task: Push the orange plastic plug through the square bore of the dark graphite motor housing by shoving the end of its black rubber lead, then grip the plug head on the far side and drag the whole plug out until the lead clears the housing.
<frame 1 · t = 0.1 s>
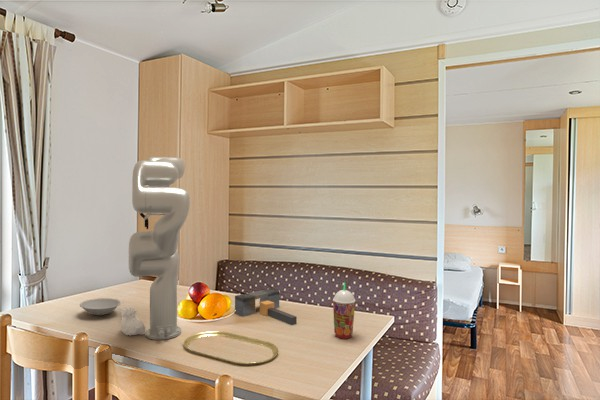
hand: (159, 228, 172), 37 cm above the table, tool pointing down, fingers open, 9 cm apart
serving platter: (230, 350, 139), on the table
duck figurine: (131, 334, 151), on the table
housing: (257, 309, 182), on the table
plug: (266, 313, 177), on the table
dish: (100, 315, 172), on the table
smoothie: (343, 336, 152), on the table
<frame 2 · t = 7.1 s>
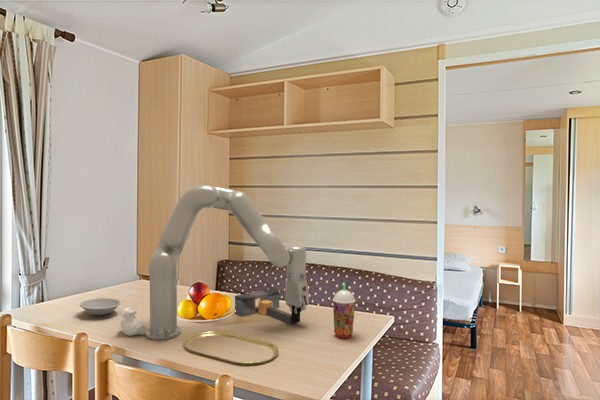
hand: (295, 322, 163), 1 cm above the table, tool pointing down, fingers closed
plug: (265, 313, 178), on the table, touching gripper
everything else where it was.
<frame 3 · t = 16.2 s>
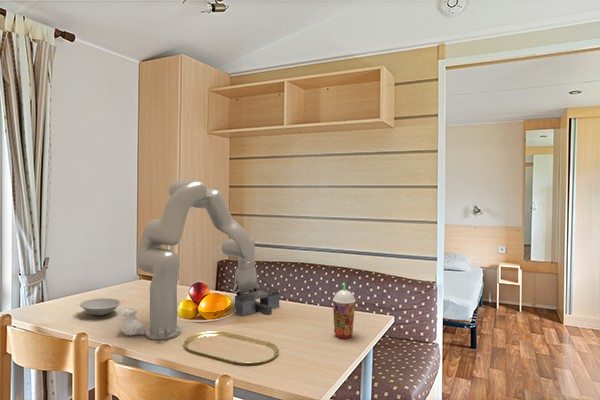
hand: (246, 303, 189), 1 cm above the table, tool pointing down, fingers closed on plug, 4 cm apart
plug: (245, 305, 189), on the table, touching gripper
everything else where it was.
when the fingers open (1 cm above the table, at t = 20.0 s): plug stays where it is, on the table.
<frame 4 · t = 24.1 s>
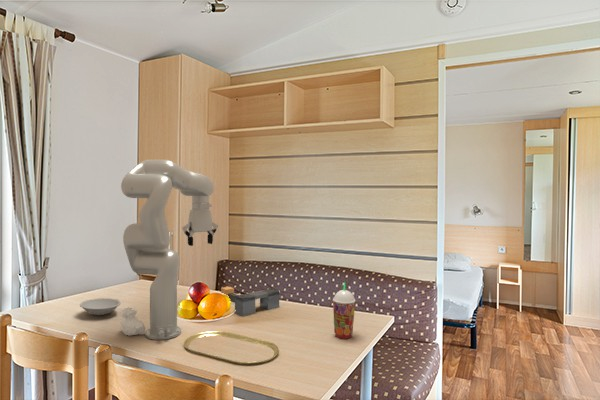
hand: (200, 244, 185), 28 cm above the table, tool pointing down, fingers open, 9 cm apart
plug: (227, 298, 200), on the table
everything else where it was.
at the end: plug inside the target area on the table beside the housing (1.5 cm from its centre), on the table; plug tilted 0°; the gripper is holding nothing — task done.
